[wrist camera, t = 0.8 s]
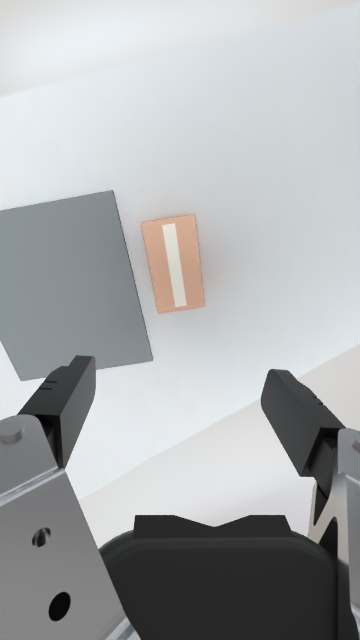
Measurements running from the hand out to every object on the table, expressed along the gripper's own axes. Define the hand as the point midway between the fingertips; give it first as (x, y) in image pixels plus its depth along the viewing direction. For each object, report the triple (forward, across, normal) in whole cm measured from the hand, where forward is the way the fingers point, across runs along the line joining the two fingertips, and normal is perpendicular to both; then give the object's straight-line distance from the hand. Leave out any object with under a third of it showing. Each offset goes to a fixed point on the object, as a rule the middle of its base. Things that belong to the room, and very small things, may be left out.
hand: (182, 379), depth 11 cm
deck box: (+18, 0, -3) cm, 19 cm away
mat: (+19, +13, +3) cm, 23 cm away
